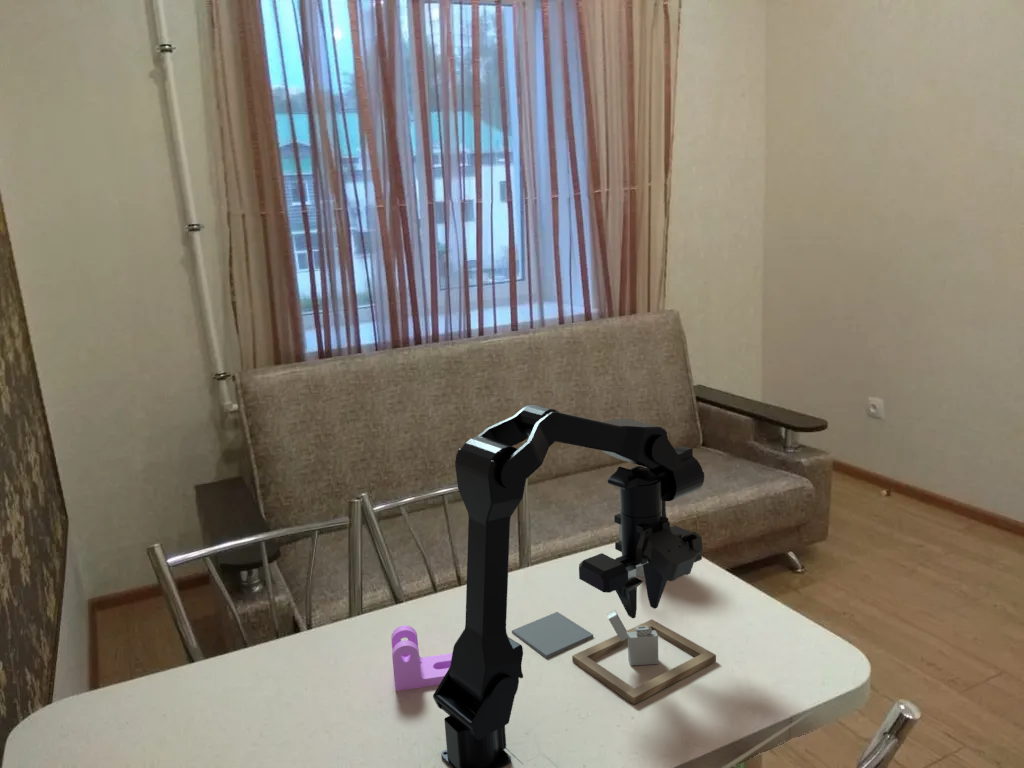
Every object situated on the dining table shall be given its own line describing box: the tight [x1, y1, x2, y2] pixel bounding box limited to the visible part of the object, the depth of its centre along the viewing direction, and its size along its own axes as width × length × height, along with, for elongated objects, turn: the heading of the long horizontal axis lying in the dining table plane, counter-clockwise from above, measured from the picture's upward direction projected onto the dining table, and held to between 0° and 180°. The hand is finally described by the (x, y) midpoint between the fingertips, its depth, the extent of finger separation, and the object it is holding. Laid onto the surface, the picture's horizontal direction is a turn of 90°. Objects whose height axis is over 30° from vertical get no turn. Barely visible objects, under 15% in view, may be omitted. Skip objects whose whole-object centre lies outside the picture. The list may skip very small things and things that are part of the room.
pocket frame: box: [571, 618, 717, 705], centre depth 116 cm, size 16×13×1 cm
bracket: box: [391, 624, 453, 692], centre depth 115 cm, size 13×6×7 cm, turn 100°
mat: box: [511, 611, 594, 659], centre depth 124 cm, size 9×9×1 cm
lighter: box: [606, 609, 660, 667], centre depth 115 cm, size 7×2×8 cm, turn 92°
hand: (643, 612), depth 114 cm, fingers open, 4 cm apart
